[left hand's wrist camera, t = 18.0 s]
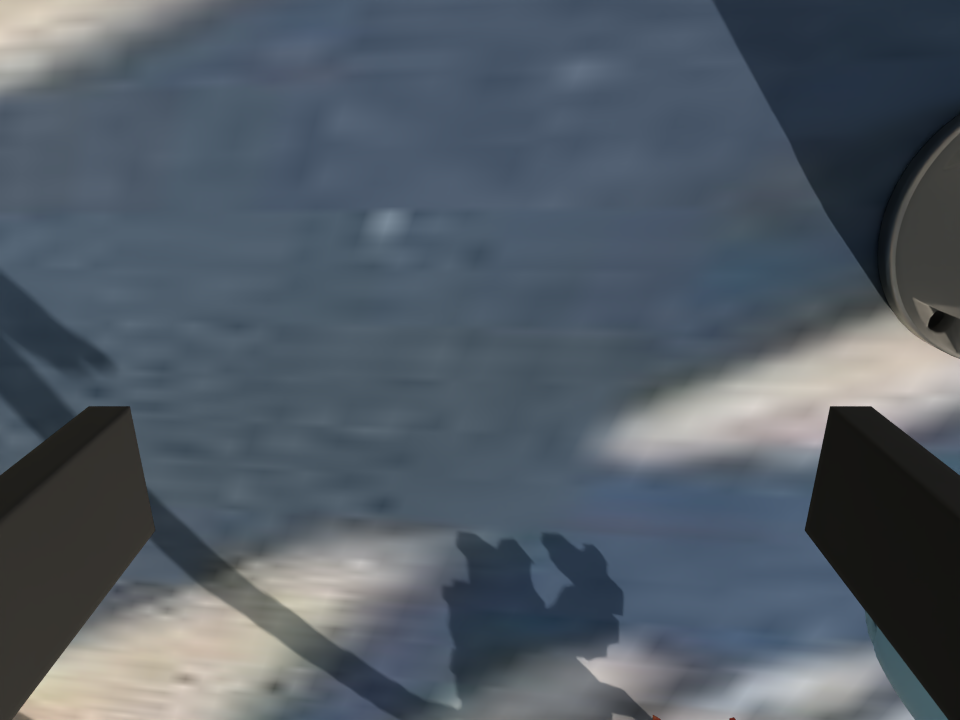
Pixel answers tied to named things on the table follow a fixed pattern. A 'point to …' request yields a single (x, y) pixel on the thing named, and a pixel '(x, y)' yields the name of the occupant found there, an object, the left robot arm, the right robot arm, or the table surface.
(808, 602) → the table surface
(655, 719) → the toy
